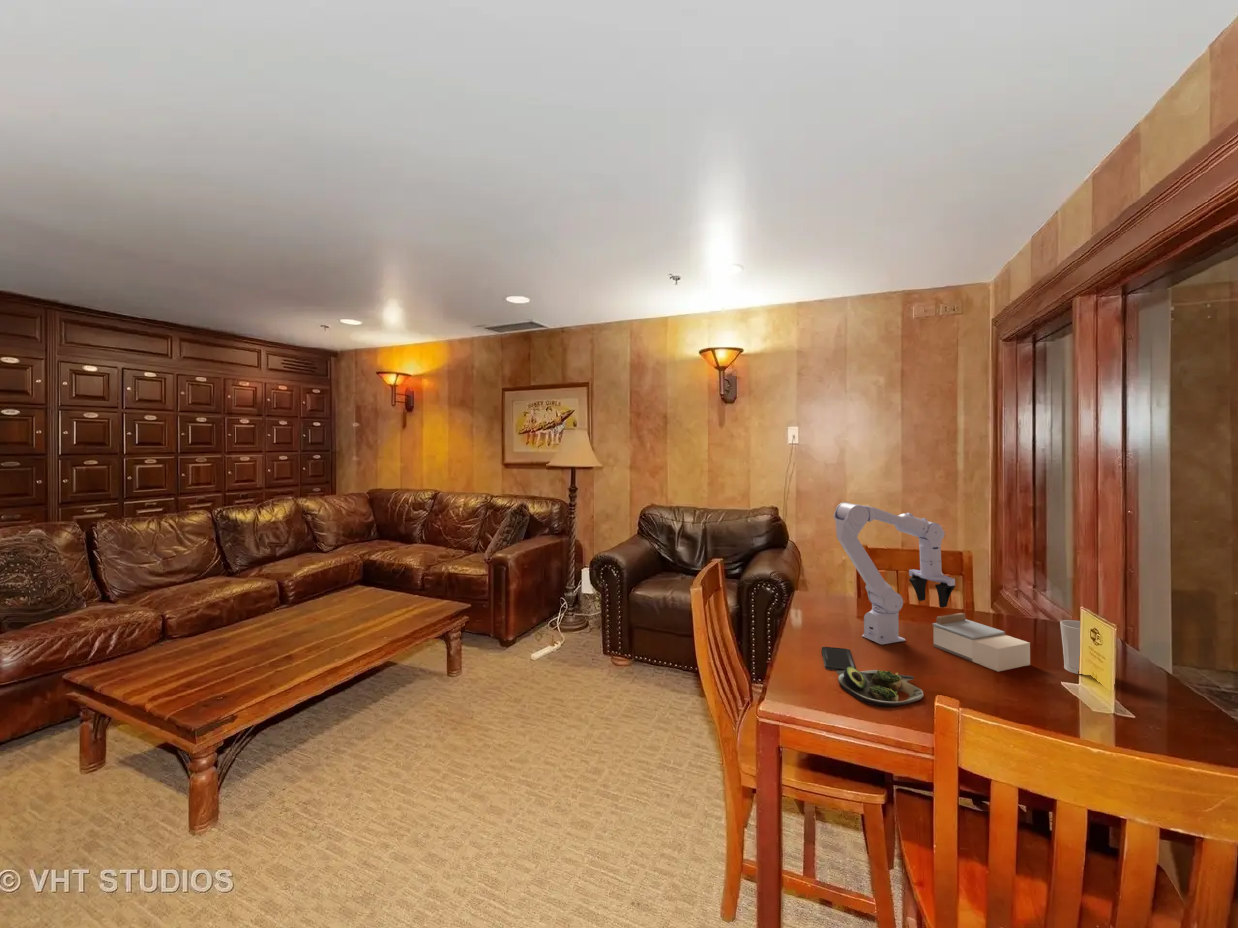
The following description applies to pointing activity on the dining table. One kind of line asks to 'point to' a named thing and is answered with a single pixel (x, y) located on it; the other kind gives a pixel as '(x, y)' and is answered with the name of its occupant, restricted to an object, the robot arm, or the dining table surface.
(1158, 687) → the dining table surface
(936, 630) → the carton
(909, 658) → the dining table surface
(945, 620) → the lid
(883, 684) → the salad plate
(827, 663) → the phone
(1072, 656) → the cup
